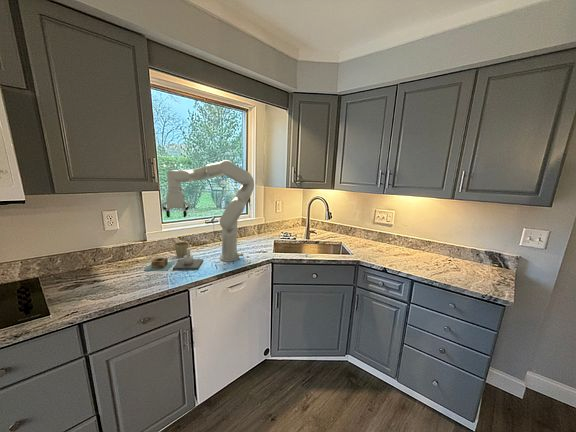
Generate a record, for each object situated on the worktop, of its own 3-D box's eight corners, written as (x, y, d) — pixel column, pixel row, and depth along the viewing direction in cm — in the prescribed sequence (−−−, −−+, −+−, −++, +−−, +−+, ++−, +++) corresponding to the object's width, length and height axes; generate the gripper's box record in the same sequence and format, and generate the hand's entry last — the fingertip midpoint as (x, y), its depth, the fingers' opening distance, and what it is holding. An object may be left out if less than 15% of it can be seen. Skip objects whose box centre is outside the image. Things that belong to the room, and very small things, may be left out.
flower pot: (170, 257, 160) (170, 244, 158) (181, 253, 168) (180, 241, 167) (182, 259, 157) (181, 246, 155) (192, 255, 165) (191, 243, 164)
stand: (203, 261, 155) (202, 245, 153) (198, 269, 141) (197, 252, 139) (180, 261, 153) (179, 245, 151) (172, 270, 139) (172, 252, 138)
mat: (174, 262, 150) (174, 262, 150) (167, 270, 139) (167, 269, 138) (152, 263, 148) (152, 262, 148) (143, 270, 137) (143, 270, 137)
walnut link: (167, 264, 147) (167, 257, 146) (163, 268, 141) (163, 261, 140) (156, 264, 146) (156, 257, 146) (151, 268, 140) (151, 261, 139)
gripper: (190, 189, 156) (192, 215, 159) (162, 189, 153) (164, 216, 156) (188, 190, 149) (189, 217, 152) (158, 190, 146) (160, 218, 149)
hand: (176, 217), depth 154 cm, fingers open, 9 cm apart
